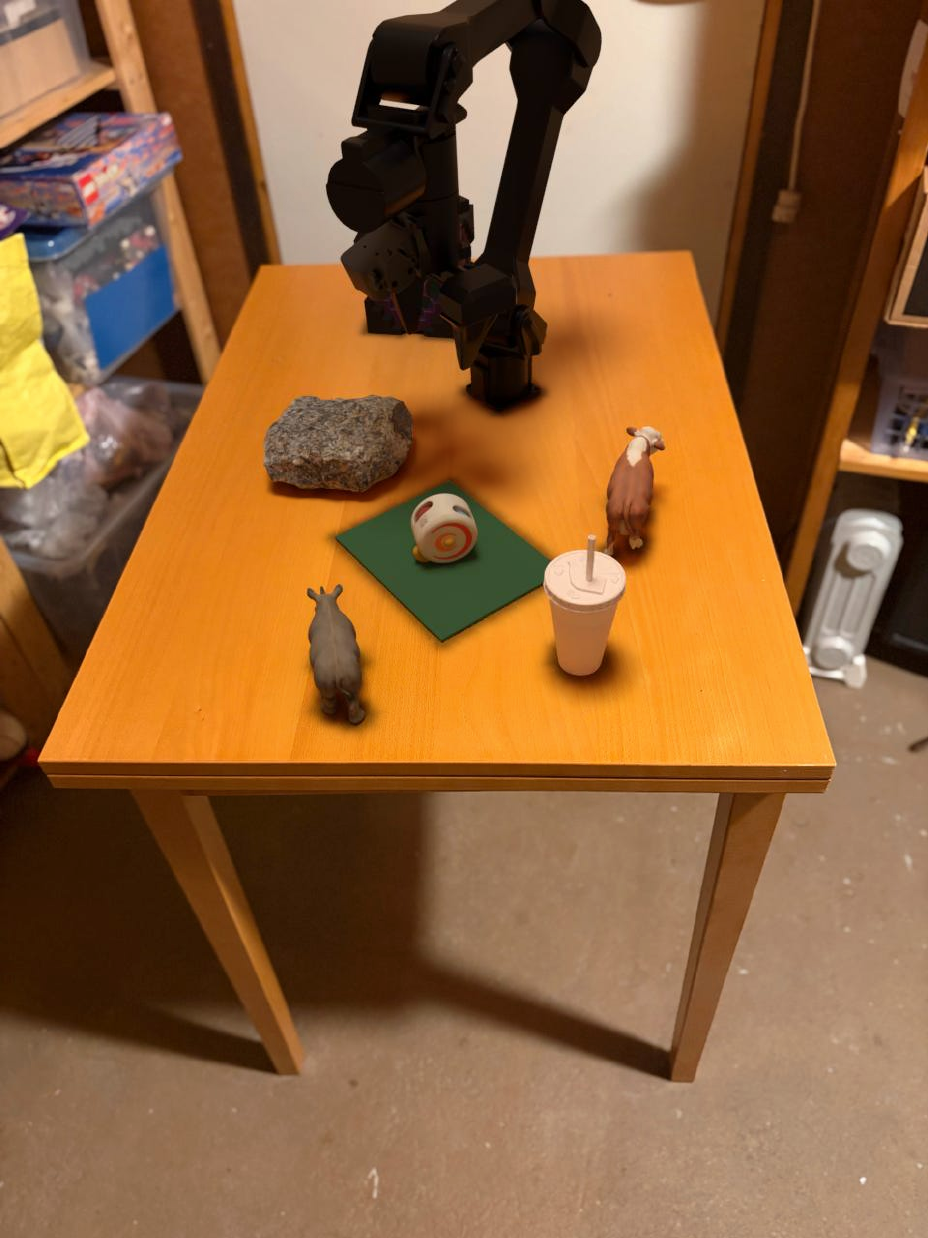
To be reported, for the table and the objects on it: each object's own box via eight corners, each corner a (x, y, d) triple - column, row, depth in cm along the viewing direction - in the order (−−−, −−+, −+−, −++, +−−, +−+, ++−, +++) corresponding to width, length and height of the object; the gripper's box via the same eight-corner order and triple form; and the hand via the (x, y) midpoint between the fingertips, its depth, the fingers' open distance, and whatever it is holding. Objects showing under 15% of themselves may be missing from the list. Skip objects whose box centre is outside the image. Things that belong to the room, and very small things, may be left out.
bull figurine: (664, 486, 95) (673, 418, 89) (636, 572, 86) (645, 503, 80) (621, 479, 96) (628, 411, 90) (590, 563, 87) (595, 494, 81)
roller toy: (483, 561, 88) (481, 514, 83) (417, 574, 87) (412, 527, 83) (472, 532, 91) (469, 485, 86) (408, 544, 90) (403, 497, 86)
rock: (256, 495, 97) (396, 510, 95) (244, 445, 92) (391, 460, 90) (294, 424, 105) (423, 436, 103) (285, 374, 101) (420, 387, 98)
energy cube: (391, 289, 128) (382, 200, 119) (476, 294, 126) (473, 204, 117) (367, 332, 120) (356, 240, 111) (458, 338, 118) (453, 244, 109)
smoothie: (567, 699, 76) (574, 573, 66) (527, 648, 80) (528, 523, 70) (632, 669, 78) (648, 543, 68) (590, 622, 82) (600, 496, 72)
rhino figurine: (351, 606, 85) (342, 556, 80) (373, 721, 75) (364, 673, 71) (306, 614, 84) (295, 564, 80) (322, 731, 75) (310, 683, 70)
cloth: (449, 482, 97) (449, 480, 97) (563, 573, 86) (563, 570, 86) (335, 538, 91) (334, 536, 91) (441, 642, 81) (441, 640, 81)
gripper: (293, 183, 83) (320, 341, 95) (410, 250, 73) (425, 420, 84) (396, 152, 88) (410, 307, 99) (520, 210, 77) (521, 377, 88)
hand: (437, 350), depth 92 cm, fingers open, 9 cm apart
